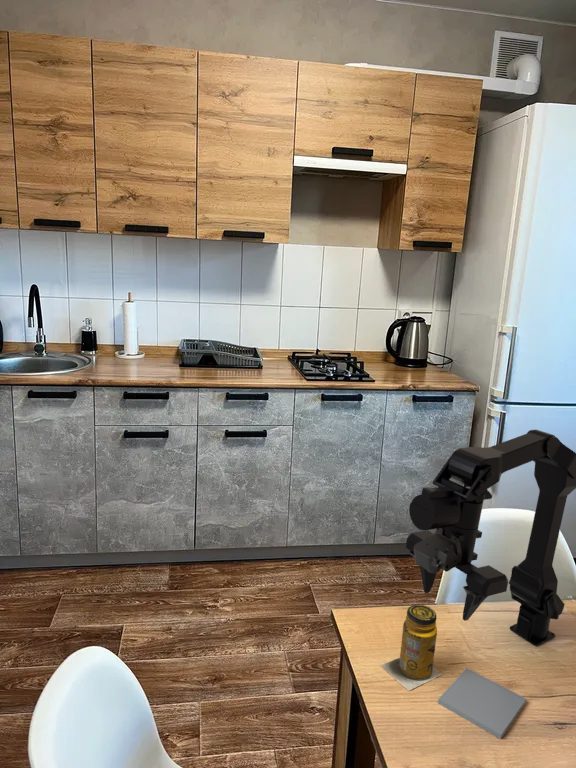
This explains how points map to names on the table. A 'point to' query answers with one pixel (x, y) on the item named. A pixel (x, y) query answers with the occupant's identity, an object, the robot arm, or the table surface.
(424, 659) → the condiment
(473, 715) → the coaster board
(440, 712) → the table surface
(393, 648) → the table surface
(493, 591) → the robot arm
